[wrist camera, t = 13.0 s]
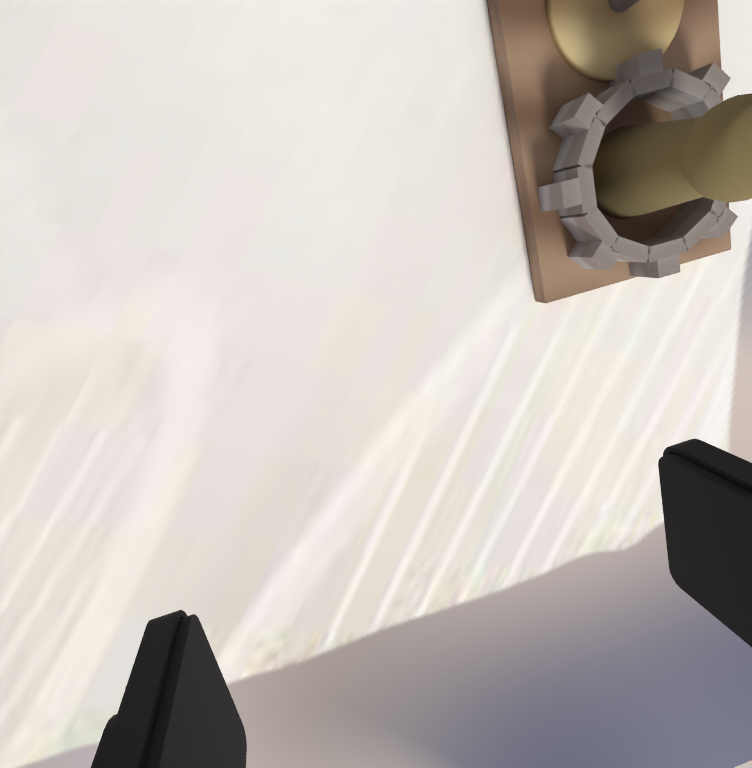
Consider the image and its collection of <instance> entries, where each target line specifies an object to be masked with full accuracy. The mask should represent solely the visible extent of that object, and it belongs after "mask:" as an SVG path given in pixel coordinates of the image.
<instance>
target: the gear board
mask: <svg viewBox="0 0 752 768" xmlns="http://www.w3.org/2000/svg"><path fill="white" fill-rule="evenodd" d="M487 4H488V10H489V16H490V22H491V29H492V35H493V41H494V47H495V53H496V59H497V65H498V72H499V78H500V84H501V90H502V96H503V102H504V108H505V115H506V121H507V127H508V133H509V139H510V145H511V151H512V158H513V164H514V170H515V176H516V182H517V188H518V194H519V201H520V207H521V213H522V219H523V225H524V231H525V237H526V244H527V250H528V256H529V262H530V268H531V274H532V280H533V286H534V293H535V299H536V301H537V302H542V303H549V302H552V301H555V300H559V299H562V298H566V297H569V296H573V295H576V294H579V293H583V292H586V291H590V290H593V289H597V288H600V287H604V286H607V285H610V284H614V283H617V282H621V281H624V280H628V279H631V278H634V277H651V278H661V277H664V276H668V275H671V274H675V273H678V272H680V264H683V263H686V262H689V261H693V260H696V259H700V258H703V257H707V256H710V255H713V254H717V253H720V252H724V251H727V250H731V238H730V227H731V226H732V224H733V223H734V221H735V220H736V218H737V217H738V216H737V215H735V214H734V213H733V212H732V211H731V210H729V202H727V203H725V202H720V201H716V200H712V199H708V198H705V197H701V198H698V199H695V200H691V201H688V202H684V203H681V204H678V205H674V206H671V207H667V208H664V209H661V210H657V211H654V212H650V213H647V214H644V215H640V216H637V217H634V218H627V219H617V218H612V217H609V216H607V215H606V214H604V213H603V212H601V211H600V210H599V209H598V208H597V202H596V194H595V186H594V178H593V169H592V165H593V162H594V159H595V156H596V153H597V150H598V147H599V144H600V141H601V140H602V139H603V138H604V137H605V136H606V134H608V133H609V132H611V131H613V130H615V129H617V128H619V127H625V126H633V125H641V124H649V123H657V122H665V121H673V120H681V119H689V118H697V117H702V116H703V115H704V114H705V113H706V112H707V111H708V110H710V109H711V108H712V107H714V106H715V105H717V104H719V103H721V102H723V93H722V91H723V90H724V88H725V86H726V85H727V83H728V82H729V80H730V77H729V76H728V75H727V74H726V73H725V72H724V71H722V70H721V57H720V39H719V20H718V2H717V0H487Z"/></svg>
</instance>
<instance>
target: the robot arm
mask: <svg viewBox="0 0 752 768" xmlns="http://www.w3.org/2000/svg"><path fill="white" fill-rule="evenodd" d="M658 466H659V476H660V485H661V495H662V504H663V513H664V523H665V532H666V542H667V551H668V560H669V569H670V573H671V575H672V577H673V579H674V580H675V582H676V584H677V585H678V586H679V587H680V588H681V589H682V590H683V591H685V592H686V593H687V594H688V595H690V596H691V597H692V598H693V599H694V600H695V601H697V602H698V603H699V604H700V605H702V606H703V607H704V608H705V609H706V610H708V611H709V612H710V613H711V614H712V615H714V616H715V617H716V618H717V619H718V620H720V621H721V622H722V623H723V624H724V625H726V626H727V627H728V628H729V629H730V630H732V631H733V632H734V633H735V634H736V635H738V636H739V637H740V638H741V639H743V640H744V641H745V642H746V643H747V644H749V645H750V646H751V647H752V463H750V462H748V461H746V460H744V459H741V458H739V457H737V456H735V455H732V454H730V453H728V452H726V451H723V450H721V449H719V448H717V447H715V446H712V445H710V444H708V443H706V442H703V441H701V440H698V439H691V440H688V441H685V442H682V443H679V444H676V445H673V446H670V447H667V448H666V449H665V450H664V453H663V457H661V458H660V459H659V464H658ZM246 745H247V744H246V735H245V730H244V726H243V724H242V721H241V719H240V716H239V714H238V712H237V709H236V707H235V704H234V702H233V699H232V697H231V695H230V692H229V690H228V688H227V685H226V683H225V680H224V678H223V676H222V673H221V671H220V668H219V666H218V664H217V661H216V659H215V656H214V654H213V652H212V649H211V647H210V645H209V642H208V640H207V637H206V635H205V633H204V630H203V628H202V625H201V623H200V621H199V619H198V617H197V616H196V615H195V614H193V615H190V616H187V615H186V613H185V612H184V611H183V610H179V611H176V612H173V613H170V614H167V615H164V616H161V617H158V618H155V619H152V620H150V621H149V622H148V624H147V626H146V629H145V632H144V635H143V638H142V641H141V644H140V647H139V650H138V653H137V656H136V659H135V662H134V665H133V668H132V671H131V674H130V677H129V680H128V683H127V686H126V689H125V692H124V695H123V698H122V701H121V704H120V708H119V711H118V714H116V715H114V716H113V717H112V718H110V719H109V720H108V723H107V725H106V727H105V729H104V731H103V734H102V737H101V740H100V743H99V746H98V749H97V752H96V754H95V757H94V760H93V763H92V766H91V768H246V751H247V750H246V749H247V746H246ZM735 768H752V761H749V762H747V763H744V764H742V765H740V766H737V767H735Z"/></svg>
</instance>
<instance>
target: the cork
mask: <svg viewBox="0 0 752 768" xmlns="http://www.w3.org/2000/svg"><path fill="white" fill-rule="evenodd" d="M592 169H593V178H594V186H595V194H596V202H597V208H598V209H599V210H600V211H601V212H603V213H604V214H606V215H607V216H609V217H612V218H617V219H627V218H634V217H637V216H640V215H644V214H647V213H650V212H654V211H657V210H661V209H664V208H667V207H671V206H674V205H678V204H681V203H684V202H688V201H691V200H695V199H698V198H701V197H705V198H708V199H712V200H716V201H720V202H725V203H727V202H737V201H743V200H748V199H751V198H752V94H745V95H737V96H735V97H732V98H729V99H727V100H725V101H723V102H721V103H719V104H717V105H715V106H714V107H712V108H711V109H710V110H708V111H707V112H706V113H705V114H704V115H703V116H702V117H697V118H689V119H681V120H673V121H665V122H657V123H649V124H641V125H633V126H625V127H619V128H617V129H615V130H613V131H611V132H609V133H608V134H606V136H605V137H604V138H603V139H602V140H601V141H600V144H599V147H598V150H597V153H596V156H595V159H594V162H593V165H592Z"/></svg>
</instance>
